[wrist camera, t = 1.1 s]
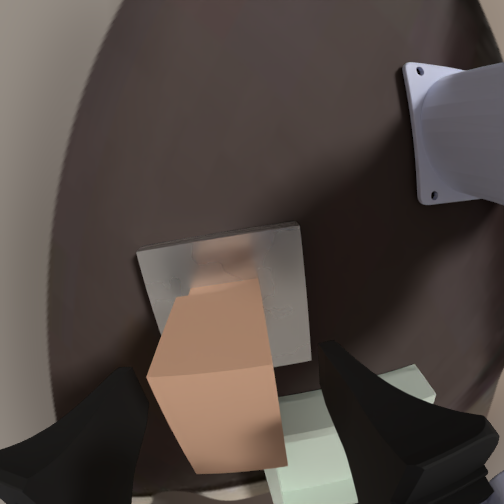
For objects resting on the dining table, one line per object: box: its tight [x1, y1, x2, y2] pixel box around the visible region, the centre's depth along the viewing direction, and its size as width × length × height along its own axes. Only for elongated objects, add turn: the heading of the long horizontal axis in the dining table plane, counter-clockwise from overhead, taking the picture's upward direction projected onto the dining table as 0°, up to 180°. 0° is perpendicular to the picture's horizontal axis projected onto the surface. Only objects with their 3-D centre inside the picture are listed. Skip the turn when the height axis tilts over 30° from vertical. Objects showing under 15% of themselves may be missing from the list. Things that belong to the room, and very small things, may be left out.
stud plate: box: [136, 221, 311, 367], centre depth 15 cm, size 8×8×4 cm
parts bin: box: [264, 364, 436, 504], centre depth 20 cm, size 12×15×4 cm
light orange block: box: [146, 278, 288, 474], centre depth 12 cm, size 3×5×8 cm, turn 9°
